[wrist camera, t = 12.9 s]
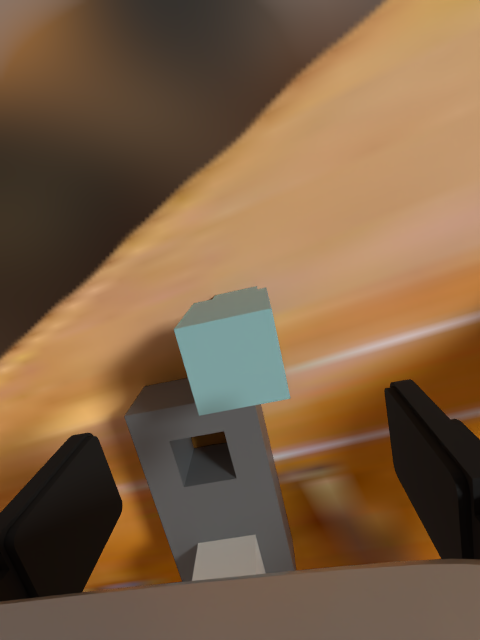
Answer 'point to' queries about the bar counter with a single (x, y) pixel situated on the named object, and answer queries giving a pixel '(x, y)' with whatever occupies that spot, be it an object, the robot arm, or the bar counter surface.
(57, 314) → the bar counter surface
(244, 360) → the teal plug
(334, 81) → the bar counter surface
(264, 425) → the block
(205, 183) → the bar counter surface
